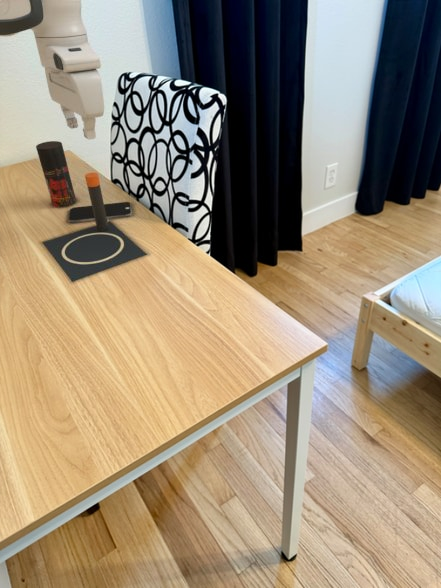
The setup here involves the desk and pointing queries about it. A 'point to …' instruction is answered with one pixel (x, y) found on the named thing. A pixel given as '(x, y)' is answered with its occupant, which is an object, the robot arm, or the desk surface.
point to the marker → (97, 201)
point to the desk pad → (92, 251)
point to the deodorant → (56, 173)
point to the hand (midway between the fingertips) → (81, 132)
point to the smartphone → (111, 211)
